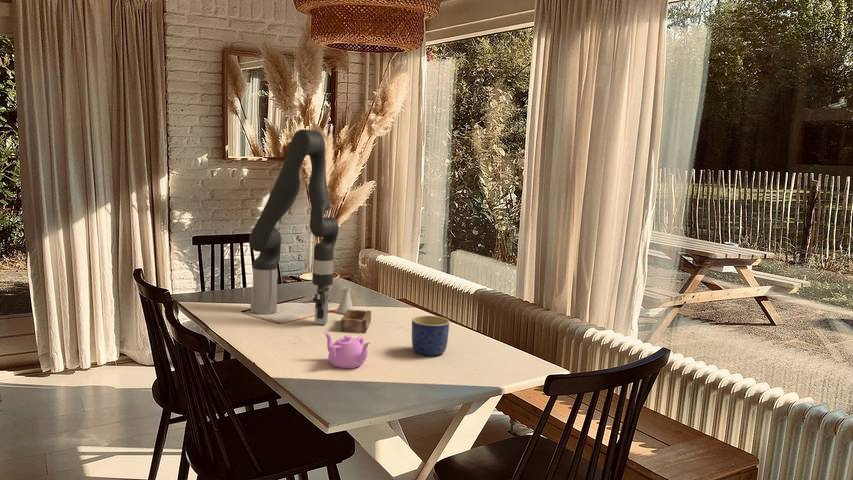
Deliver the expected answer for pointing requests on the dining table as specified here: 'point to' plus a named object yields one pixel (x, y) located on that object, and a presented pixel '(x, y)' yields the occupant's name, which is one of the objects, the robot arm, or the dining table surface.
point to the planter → (430, 334)
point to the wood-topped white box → (325, 314)
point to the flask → (345, 301)
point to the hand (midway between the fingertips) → (321, 316)
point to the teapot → (346, 351)
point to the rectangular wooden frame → (356, 321)
